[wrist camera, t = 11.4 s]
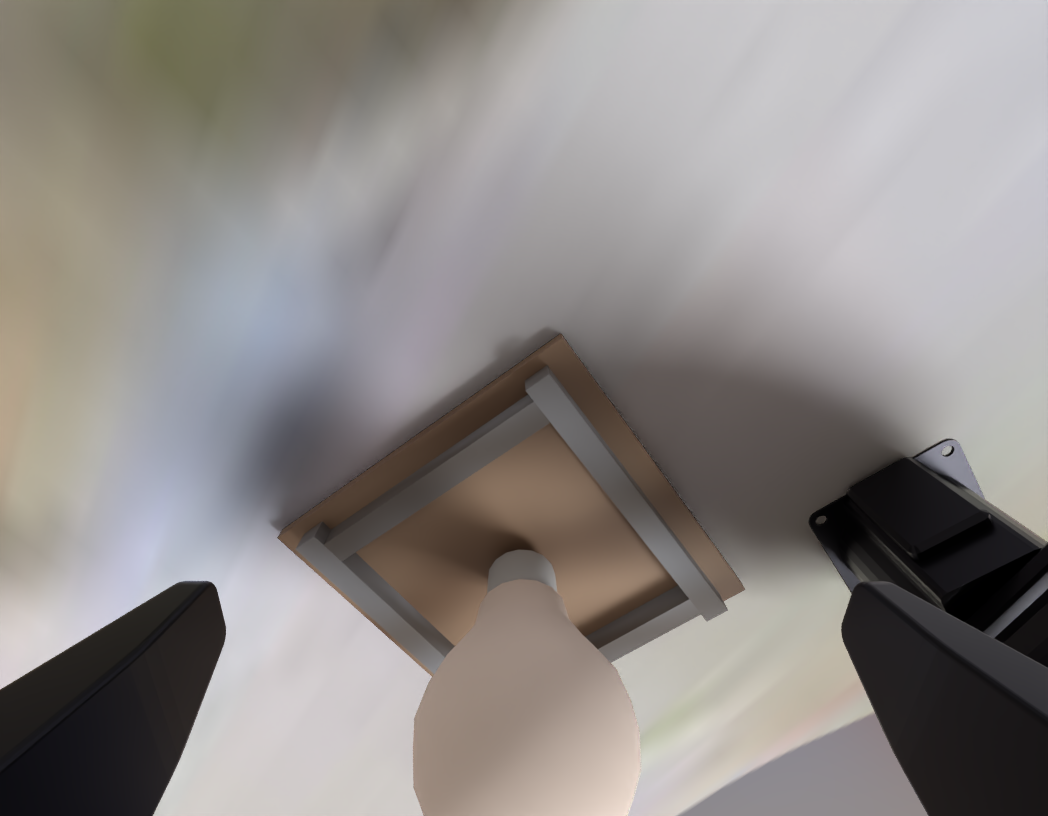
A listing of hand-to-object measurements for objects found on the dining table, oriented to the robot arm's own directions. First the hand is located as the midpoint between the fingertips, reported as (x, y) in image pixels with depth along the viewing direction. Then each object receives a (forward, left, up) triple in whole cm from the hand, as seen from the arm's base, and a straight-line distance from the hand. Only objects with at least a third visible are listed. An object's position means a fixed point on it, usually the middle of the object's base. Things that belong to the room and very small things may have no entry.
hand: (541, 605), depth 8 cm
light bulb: (-8, +6, -13) cm, 16 cm away
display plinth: (-8, +6, -13) cm, 16 cm away
